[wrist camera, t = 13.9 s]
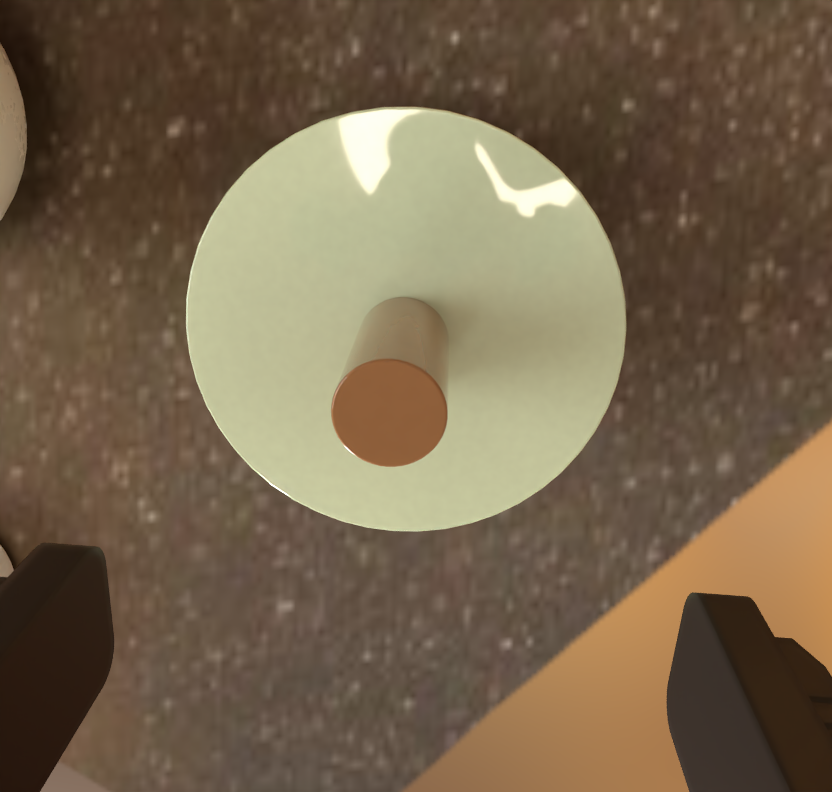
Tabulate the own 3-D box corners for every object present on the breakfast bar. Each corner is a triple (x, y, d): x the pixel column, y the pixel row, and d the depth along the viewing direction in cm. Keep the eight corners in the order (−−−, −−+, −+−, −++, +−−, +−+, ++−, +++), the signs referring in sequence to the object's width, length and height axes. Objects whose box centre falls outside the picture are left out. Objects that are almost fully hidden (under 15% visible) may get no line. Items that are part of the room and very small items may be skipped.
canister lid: (651, 119, 21) (733, 133, 15) (587, 526, 26) (630, 665, 20) (187, 91, 22) (78, 93, 15) (206, 499, 26) (128, 628, 20)
